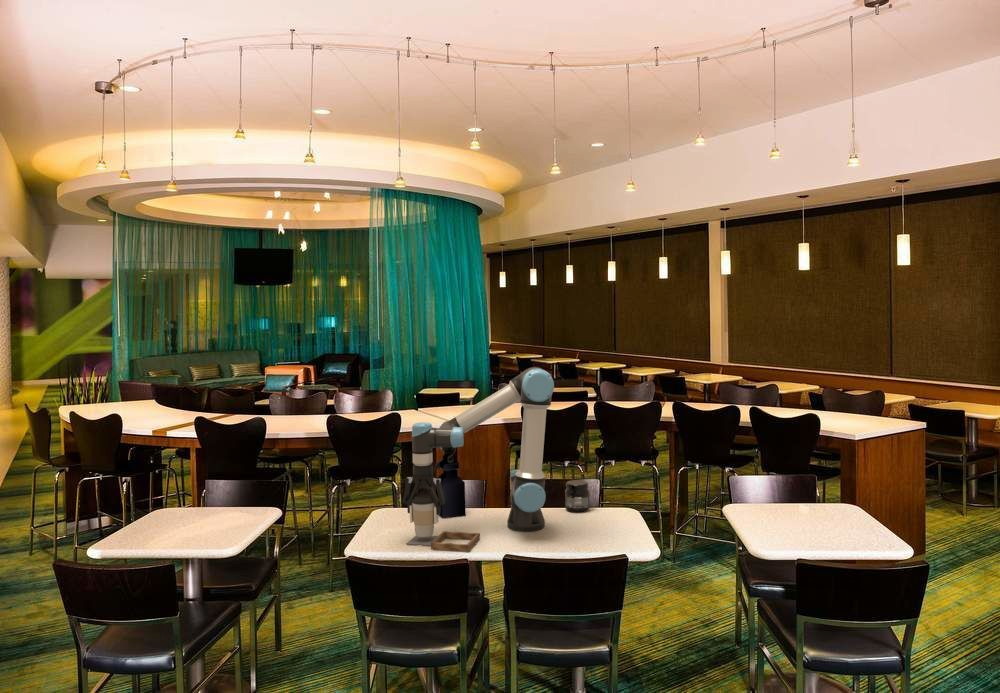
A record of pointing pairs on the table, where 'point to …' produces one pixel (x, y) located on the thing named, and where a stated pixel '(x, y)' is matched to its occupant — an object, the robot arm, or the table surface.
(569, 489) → the supplement container
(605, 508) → the table surface
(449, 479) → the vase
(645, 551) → the table surface
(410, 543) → the mat
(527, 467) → the robot arm
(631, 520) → the table surface
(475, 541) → the wooden square frame
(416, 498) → the coffee cup
